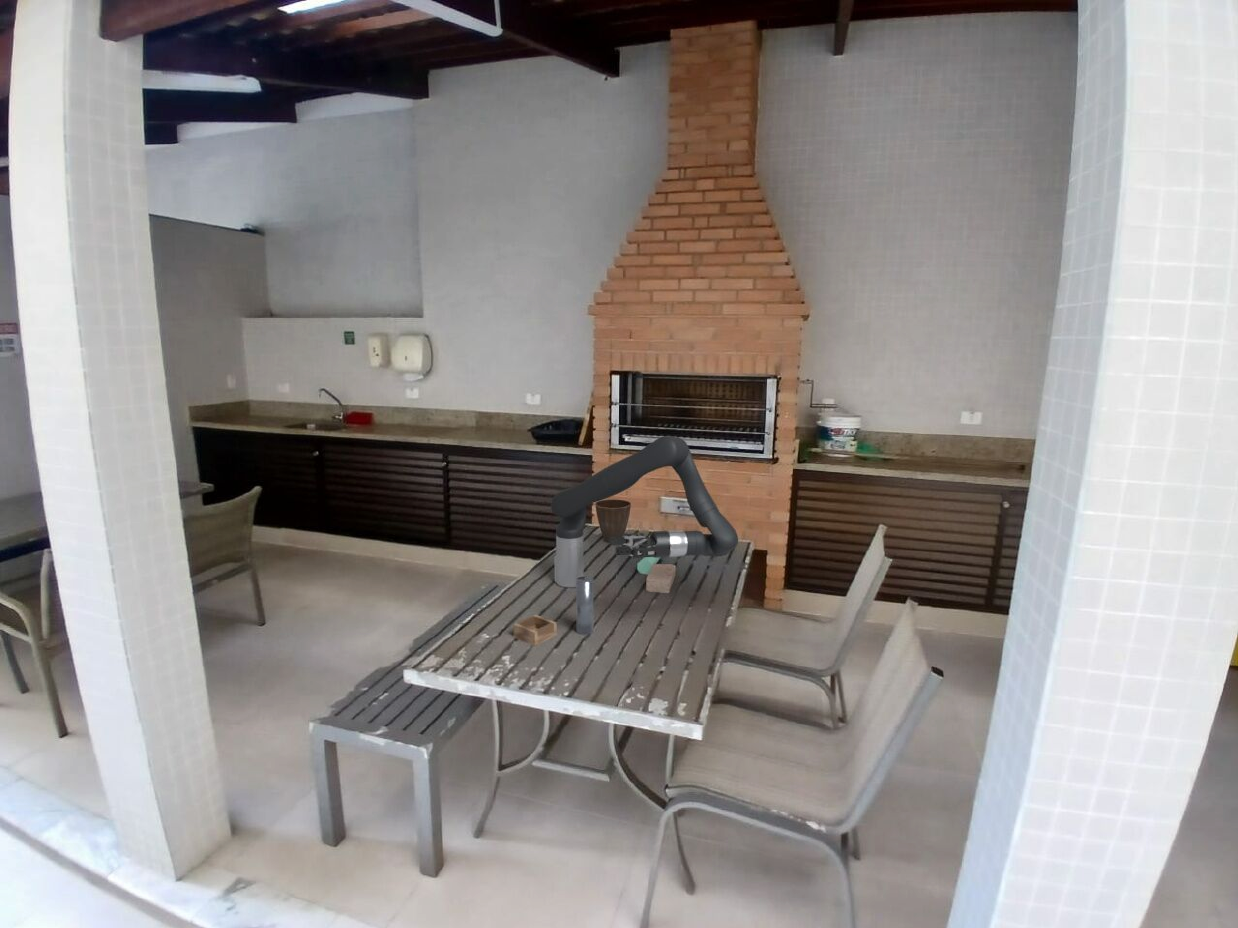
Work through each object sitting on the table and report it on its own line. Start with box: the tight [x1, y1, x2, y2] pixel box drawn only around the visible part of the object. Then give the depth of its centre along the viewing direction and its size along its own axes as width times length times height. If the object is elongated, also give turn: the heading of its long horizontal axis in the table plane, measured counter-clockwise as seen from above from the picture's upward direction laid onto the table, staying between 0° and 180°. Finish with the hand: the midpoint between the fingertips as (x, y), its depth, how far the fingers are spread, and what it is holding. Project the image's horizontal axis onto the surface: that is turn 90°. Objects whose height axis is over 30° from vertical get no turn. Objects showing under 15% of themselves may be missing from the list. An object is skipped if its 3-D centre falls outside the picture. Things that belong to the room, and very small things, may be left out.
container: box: [637, 557, 661, 575], centre depth 239 cm, size 6×6×25 cm
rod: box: [575, 576, 594, 636], centre depth 178 cm, size 5×5×16 cm
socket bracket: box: [512, 614, 559, 647], centre depth 177 cm, size 9×9×4 cm
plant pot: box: [594, 499, 632, 544], centre depth 265 cm, size 15×15×16 cm
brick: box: [645, 563, 677, 594], centre depth 218 cm, size 17×8×5 cm, turn 168°
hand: (612, 546), depth 177 cm, fingers open, 8 cm apart
